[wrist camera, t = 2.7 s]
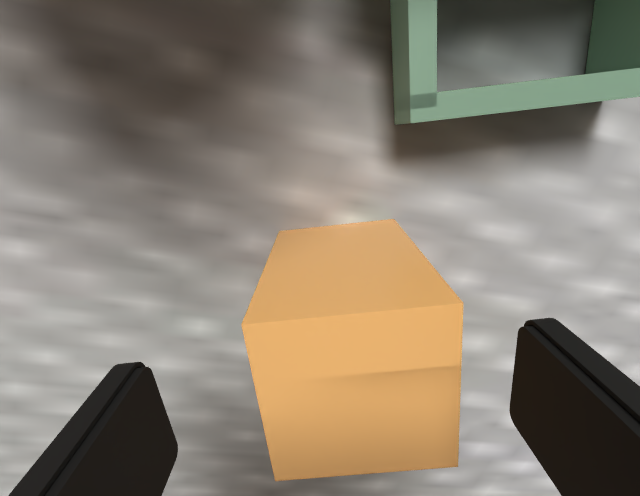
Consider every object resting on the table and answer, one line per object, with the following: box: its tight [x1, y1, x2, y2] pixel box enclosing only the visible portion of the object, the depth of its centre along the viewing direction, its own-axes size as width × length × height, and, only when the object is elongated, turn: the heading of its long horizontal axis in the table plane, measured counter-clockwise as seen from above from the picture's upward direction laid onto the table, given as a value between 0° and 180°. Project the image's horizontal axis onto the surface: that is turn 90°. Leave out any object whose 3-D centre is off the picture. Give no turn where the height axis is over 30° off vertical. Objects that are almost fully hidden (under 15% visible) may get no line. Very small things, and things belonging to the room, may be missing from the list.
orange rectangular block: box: [241, 219, 463, 481], centre depth 14 cm, size 6×6×9 cm
